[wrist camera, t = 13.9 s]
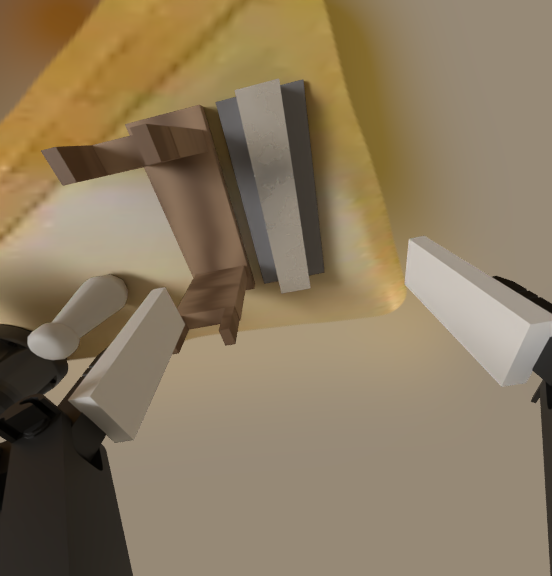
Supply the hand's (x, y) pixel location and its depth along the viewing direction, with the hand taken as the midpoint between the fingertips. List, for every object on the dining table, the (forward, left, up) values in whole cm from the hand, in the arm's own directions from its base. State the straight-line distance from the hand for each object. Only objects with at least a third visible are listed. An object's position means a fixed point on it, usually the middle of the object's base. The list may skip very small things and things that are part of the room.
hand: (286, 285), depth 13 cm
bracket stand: (-10, 0, -20) cm, 22 cm away
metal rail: (0, 0, -20) cm, 20 cm away
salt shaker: (-27, -7, -20) cm, 34 cm away
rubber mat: (0, 0, -20) cm, 20 cm away
